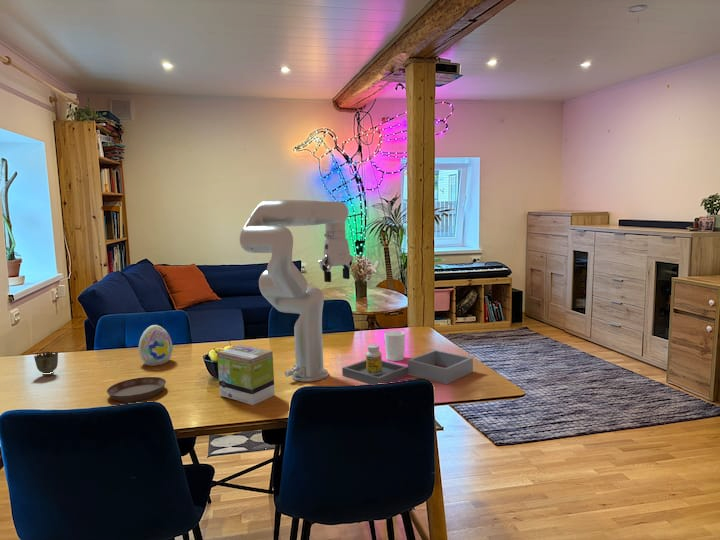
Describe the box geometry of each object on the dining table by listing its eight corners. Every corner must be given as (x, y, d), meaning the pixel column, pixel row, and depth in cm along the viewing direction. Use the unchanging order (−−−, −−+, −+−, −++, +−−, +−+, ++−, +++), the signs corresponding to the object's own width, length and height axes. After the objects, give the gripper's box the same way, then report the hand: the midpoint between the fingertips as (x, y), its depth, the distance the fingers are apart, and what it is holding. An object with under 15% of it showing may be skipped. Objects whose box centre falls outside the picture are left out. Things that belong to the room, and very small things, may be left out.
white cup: (404, 362, 189) (403, 336, 188) (383, 361, 191) (382, 335, 190) (406, 355, 197) (406, 330, 196) (386, 355, 199) (385, 330, 197)
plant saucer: (99, 395, 165) (98, 386, 165) (153, 381, 177) (152, 372, 177) (119, 409, 153) (118, 399, 152) (175, 393, 165) (175, 384, 164)
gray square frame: (446, 384, 165) (446, 369, 164) (407, 374, 176) (407, 360, 175) (472, 371, 176) (472, 357, 175) (435, 362, 187) (434, 349, 187)
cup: (64, 372, 189) (62, 351, 188) (47, 379, 182) (45, 357, 181) (48, 371, 191) (46, 350, 190) (31, 378, 184) (29, 356, 183)
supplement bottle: (383, 370, 178) (382, 344, 176) (380, 375, 172) (380, 348, 171) (368, 370, 179) (367, 343, 177) (365, 375, 173) (364, 348, 172)
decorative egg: (144, 369, 189) (140, 330, 187) (136, 362, 199) (133, 324, 197) (177, 363, 196) (174, 325, 195) (168, 356, 206) (165, 320, 204)
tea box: (218, 397, 160) (215, 351, 158) (242, 387, 168) (239, 343, 166) (252, 406, 151) (250, 358, 150) (276, 395, 160) (273, 349, 158)
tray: (378, 386, 164) (378, 378, 164) (342, 375, 176) (342, 367, 176) (408, 374, 175) (407, 366, 175) (371, 365, 187) (371, 357, 187)
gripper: (325, 237, 183) (327, 284, 185) (358, 234, 195) (360, 278, 198) (311, 236, 188) (313, 282, 191) (345, 234, 201) (346, 276, 203)
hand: (337, 280), depth 194 cm, fingers open, 9 cm apart
